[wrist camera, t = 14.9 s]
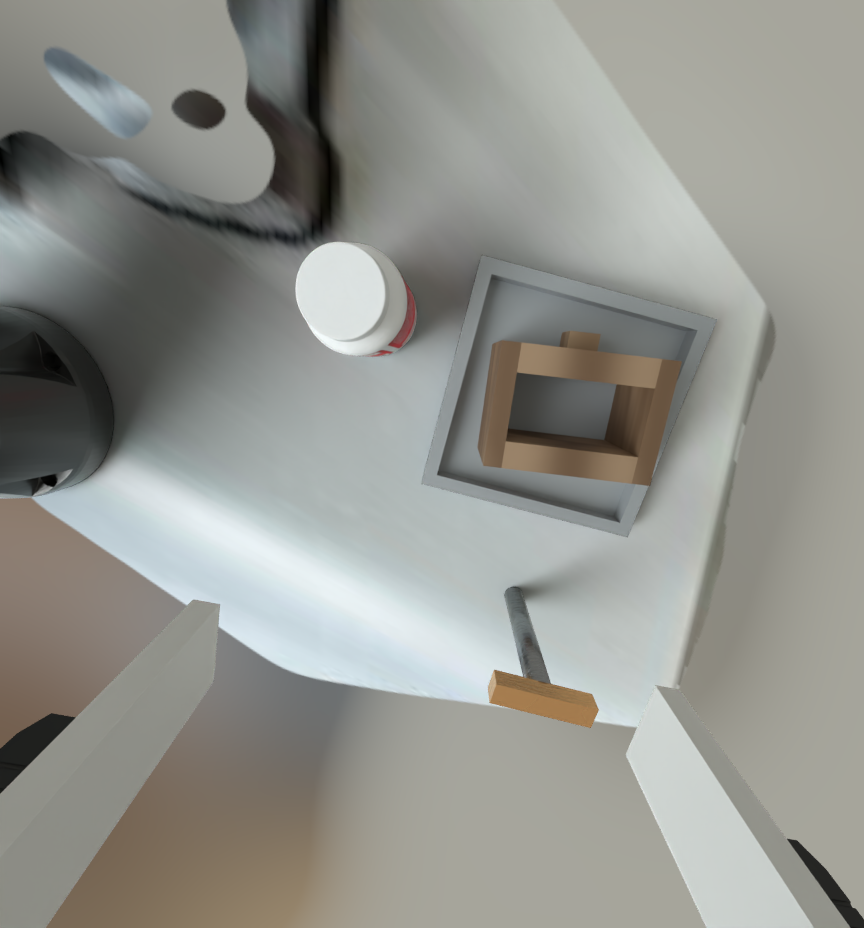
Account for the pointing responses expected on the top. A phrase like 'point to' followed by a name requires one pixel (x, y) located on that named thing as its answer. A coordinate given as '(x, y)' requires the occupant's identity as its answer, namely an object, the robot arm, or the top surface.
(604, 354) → the brown wooden open box
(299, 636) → the top surface
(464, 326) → the tray
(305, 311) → the pill bottle
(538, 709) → the t-shaped peg
